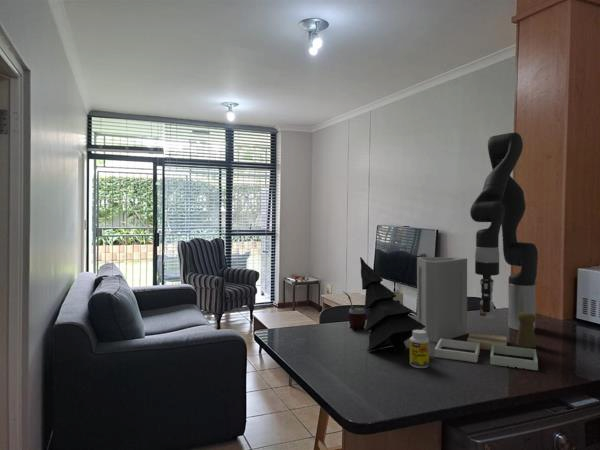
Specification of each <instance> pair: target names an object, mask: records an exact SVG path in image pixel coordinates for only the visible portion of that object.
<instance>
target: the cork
mask: <svg viewBox="0 0 600 450" xmlns="http://www.w3.org/2000/svg"><path fill="white" fill-rule="evenodd" d="M518 320H519V322H520V323H519V330H517V337H516V343H515V344H516V346H518V345H519V347H521V346H522V347H521V348H526V347H527V348H529V349H534V348H536V347H537V339H536V334H535V333H536V332H535V330H534V325H533V323H534V322H535V323H536V315H535V316H534V314H532V313H528V312H521V313H519V314H518ZM533 347H534V348H533Z"/></svg>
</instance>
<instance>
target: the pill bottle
mask: <svg viewBox="0 0 600 450" xmlns="http://www.w3.org/2000/svg"><path fill="white" fill-rule="evenodd" d="M480 296H481V297H480V299H481V300H480V301H479V317H480V318H481V319H486V320H491V319H494V318H495V317H494V316H495V312H494V311H495V310H494V309H495V308H494V307H495V303H494V301H493V294H491V296H490V298H491V300H490V312H483V301H482V294H481V295H480ZM484 296H488V294H484ZM488 297H489V296H488Z"/></svg>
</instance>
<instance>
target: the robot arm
mask: <svg viewBox="0 0 600 450" xmlns="http://www.w3.org/2000/svg"><path fill="white" fill-rule="evenodd" d="M523 146H524V143H523V139H522V137H521V134H520V133H518V132H508V133H503V134H498V135H491V136H490V137H489V138H488V140H487V150H488V151H487V152H488V156H489V159H490V160H489V161H490V165H491V169H492V170H491V171H490V173H489V174H488V175H487V177H486V178H485V180H484V183H483V187H482V190H481V192H480V193H479V195H478V196H477V198H476V199H475V200H474V202H473V203H472V205H471V207H470V211H469V212H470V215H469V216H470V217H471V219H472V221H474V222H476V223H490V225H489V227H488V228H483V229H478V230H476V233H475V254H474V262H475V263H474V265H475V266H474V273H475V274H476V275H479V276H482V278H481V279H480V281H479V283H480V294H481V295H482V299H481V301H483V312H490V300H491V298H490V296H491V295H493V291H494V290H493V289H494V287H493V286H494V282H495V281H494V279H492V276H498V275H499V274H500V250H499V241H500V240H499V238H500V237H499V236H500V231H501V234H502V237H501V238H502V249H503V251H502V253H503V258H504V261H505V263H506V264H508V265H510V266H515V267H521V268H520V271H519V272H517V273H515V274H511V275H509V276H508V282H507V283H508V288H507V289H508V293H507V294H508V296H507V297H508V298H507V300H508V309H507V310H508V314H507V316H508V320H507V321H508V322H507V323H508V325H507V326H508V328H509V329H511V330H515V331H518V330H519V323H520V322H519V320H518V314H519V313H521V312H528V313H532V314H534V316H535V317H536V279H537V273H538V261H539V258H538V257H539V254H538V248H537V246H536V245H535V244H534V243H532V242H521V241H518V240H517V229H518V226H519V225H520V222H521V220H522V219H523V216H524V215H525V211H526V201H525V194H524V190H523V189H522V187H521V186H520V185H519V184H518V182H516V180H515V179H514V178H513V177H512V176H511V174H512V172H513V171H514V169H515V167H516V166H517V163H518V160H519V159H520V158H521V155H522V152H523V148H524V147H523ZM484 294H488V296H489V297H488V296H484ZM533 325H534V331H535V330H536V321H535V322H534V323H533Z"/></svg>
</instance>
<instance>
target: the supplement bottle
mask: <svg viewBox="0 0 600 450" xmlns="http://www.w3.org/2000/svg"><path fill="white" fill-rule="evenodd" d="M412 335H413V336H412V337H410V338H409V365H410V366H411V367H412V368H417V369H426V368H428V367H429V366H430V341H429V339H428V338H427V337H426V336H427V335H426V331H424V330H413V334H412Z"/></svg>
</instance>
